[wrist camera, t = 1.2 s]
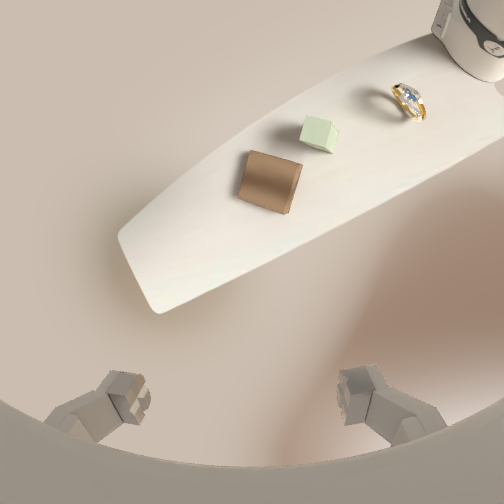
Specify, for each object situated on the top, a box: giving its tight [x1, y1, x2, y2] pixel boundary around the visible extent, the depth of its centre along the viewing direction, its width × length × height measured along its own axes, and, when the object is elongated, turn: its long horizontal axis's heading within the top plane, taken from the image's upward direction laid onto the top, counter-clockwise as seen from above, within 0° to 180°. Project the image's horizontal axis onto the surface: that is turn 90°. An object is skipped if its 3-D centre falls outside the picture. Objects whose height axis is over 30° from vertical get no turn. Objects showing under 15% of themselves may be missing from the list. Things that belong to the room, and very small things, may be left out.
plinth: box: [238, 150, 303, 215], centre depth 47 cm, size 9×9×3 cm
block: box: [299, 115, 339, 153], centre depth 39 cm, size 4×4×8 cm
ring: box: [391, 83, 426, 123], centre depth 31 cm, size 7×3×8 cm, turn 35°
